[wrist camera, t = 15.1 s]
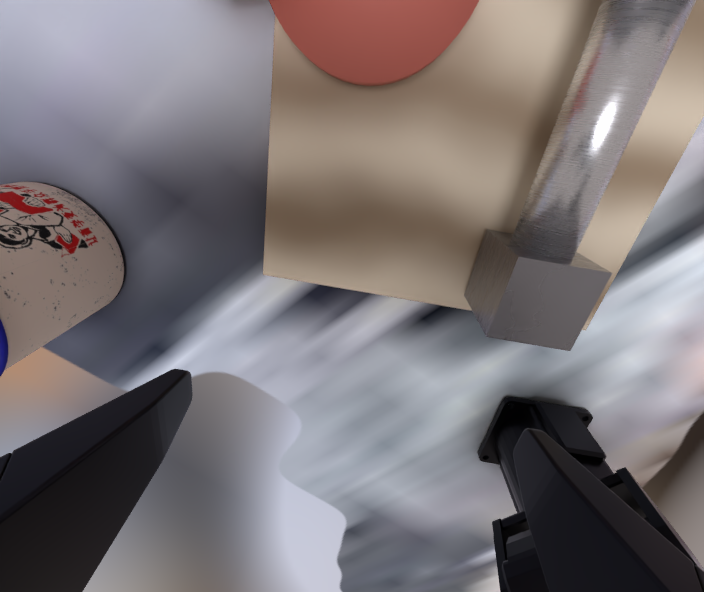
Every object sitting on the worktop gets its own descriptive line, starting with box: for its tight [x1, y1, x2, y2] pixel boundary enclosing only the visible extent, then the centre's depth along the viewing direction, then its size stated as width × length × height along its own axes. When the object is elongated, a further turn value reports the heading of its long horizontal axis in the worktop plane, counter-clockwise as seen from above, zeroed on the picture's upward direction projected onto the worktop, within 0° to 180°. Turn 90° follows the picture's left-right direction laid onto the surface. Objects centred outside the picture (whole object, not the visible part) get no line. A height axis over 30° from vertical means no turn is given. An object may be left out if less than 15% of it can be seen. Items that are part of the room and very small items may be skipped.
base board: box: [263, 0, 704, 330], centre depth 17 cm, size 20×20×1 cm
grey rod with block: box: [464, 0, 696, 351], centre depth 15 cm, size 15×4×4 cm, turn 171°
